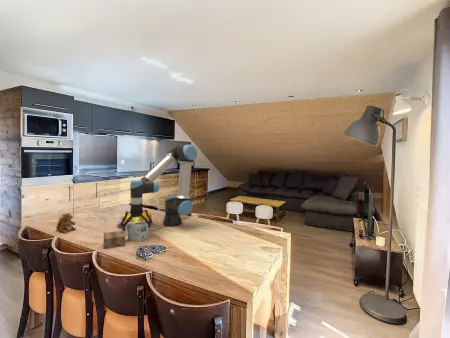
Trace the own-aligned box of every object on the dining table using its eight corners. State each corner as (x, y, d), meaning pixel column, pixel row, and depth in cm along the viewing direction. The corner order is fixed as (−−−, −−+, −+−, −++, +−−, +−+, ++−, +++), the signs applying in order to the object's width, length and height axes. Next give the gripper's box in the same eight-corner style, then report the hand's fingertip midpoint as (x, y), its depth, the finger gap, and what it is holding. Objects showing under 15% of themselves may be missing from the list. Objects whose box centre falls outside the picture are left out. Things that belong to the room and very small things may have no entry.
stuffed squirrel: (65, 234, 172) (65, 215, 170) (51, 231, 176) (50, 214, 175) (78, 229, 181) (77, 212, 180) (64, 227, 185) (63, 210, 184)
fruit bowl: (147, 230, 181) (147, 215, 180) (111, 230, 181) (110, 215, 180) (158, 220, 209) (158, 207, 208) (127, 219, 209) (126, 206, 208)
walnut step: (124, 239, 163) (123, 230, 163) (125, 245, 152) (125, 236, 152) (104, 241, 158) (103, 232, 157) (103, 248, 147) (103, 239, 147)
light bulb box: (146, 238, 166) (146, 222, 165) (140, 241, 159) (140, 225, 159) (133, 236, 169) (133, 221, 168) (127, 239, 162) (126, 224, 161)
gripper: (154, 200, 171) (154, 230, 172) (115, 203, 160) (116, 234, 162) (156, 203, 164) (156, 233, 166) (116, 205, 153) (116, 238, 155)
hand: (136, 234), depth 164 cm, fingers open, 13 cm apart
